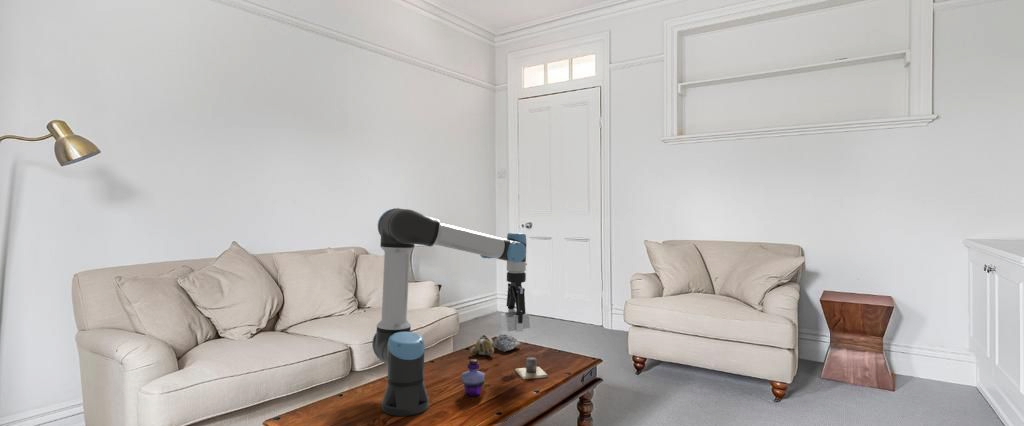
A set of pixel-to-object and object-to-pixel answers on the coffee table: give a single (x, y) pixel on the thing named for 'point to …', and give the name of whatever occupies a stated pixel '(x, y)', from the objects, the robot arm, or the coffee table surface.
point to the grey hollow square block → (513, 320)
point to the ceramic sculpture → (483, 346)
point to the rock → (505, 342)
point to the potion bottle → (473, 379)
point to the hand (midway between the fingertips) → (515, 328)
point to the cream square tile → (531, 370)
